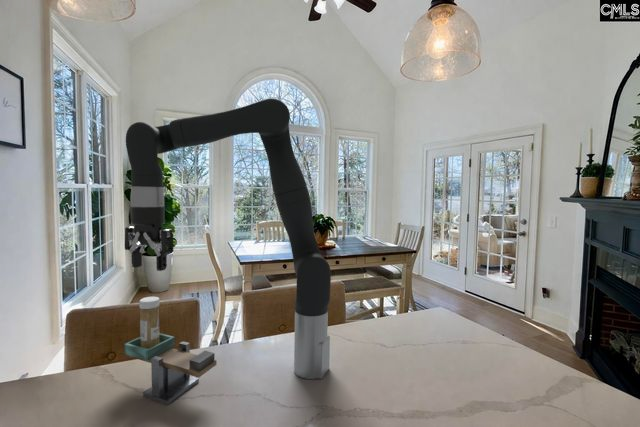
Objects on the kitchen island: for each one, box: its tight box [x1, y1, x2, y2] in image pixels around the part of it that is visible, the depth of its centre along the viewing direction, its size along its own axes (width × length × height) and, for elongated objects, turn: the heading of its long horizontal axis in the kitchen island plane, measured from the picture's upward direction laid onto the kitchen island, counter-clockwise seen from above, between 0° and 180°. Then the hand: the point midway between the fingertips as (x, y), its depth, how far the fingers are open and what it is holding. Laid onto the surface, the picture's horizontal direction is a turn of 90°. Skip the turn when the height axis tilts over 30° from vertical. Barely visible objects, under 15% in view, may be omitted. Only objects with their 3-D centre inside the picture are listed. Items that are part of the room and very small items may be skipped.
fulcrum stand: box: [142, 341, 200, 406], centre depth 80 cm, size 8×10×10 cm
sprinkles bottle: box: [138, 296, 160, 349], centre depth 82 cm, size 5×5×14 cm
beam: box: [123, 332, 217, 378], centre depth 80 cm, size 23×8×4 cm, turn 68°
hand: (148, 268), depth 82 cm, fingers open, 8 cm apart
